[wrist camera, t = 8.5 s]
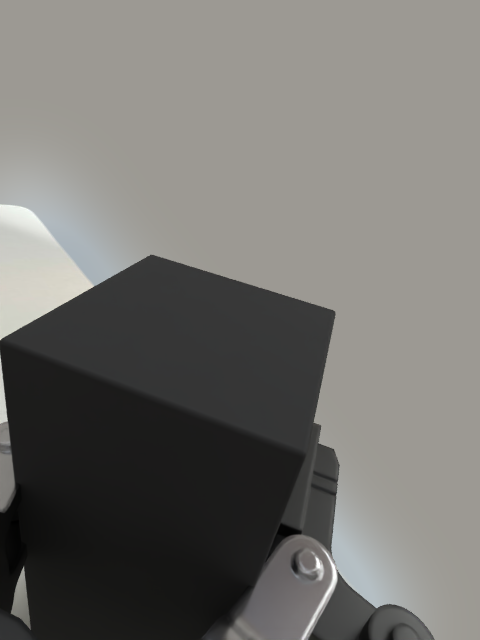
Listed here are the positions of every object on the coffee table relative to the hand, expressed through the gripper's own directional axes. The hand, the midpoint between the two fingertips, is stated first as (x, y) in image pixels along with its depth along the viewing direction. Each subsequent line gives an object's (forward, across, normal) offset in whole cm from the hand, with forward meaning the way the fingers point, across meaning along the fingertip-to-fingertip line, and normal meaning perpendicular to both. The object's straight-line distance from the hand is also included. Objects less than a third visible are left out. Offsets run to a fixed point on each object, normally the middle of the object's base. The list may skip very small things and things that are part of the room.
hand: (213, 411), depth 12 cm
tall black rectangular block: (-3, 0, -6) cm, 7 cm away
